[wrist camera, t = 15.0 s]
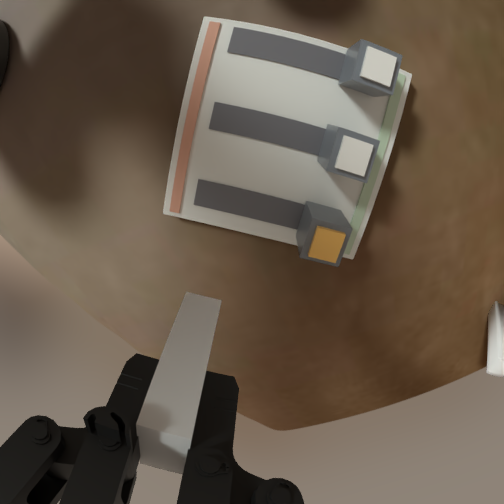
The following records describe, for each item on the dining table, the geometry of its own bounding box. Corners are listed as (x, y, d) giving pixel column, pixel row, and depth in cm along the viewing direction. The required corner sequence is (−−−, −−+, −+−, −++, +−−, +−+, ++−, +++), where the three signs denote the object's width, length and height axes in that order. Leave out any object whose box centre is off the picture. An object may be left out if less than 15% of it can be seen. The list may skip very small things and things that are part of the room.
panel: (168, 208, 33) (143, 234, 26) (207, 21, 25) (189, -2, 18) (349, 252, 34) (366, 287, 27) (405, 75, 25) (439, 69, 19)
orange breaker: (295, 234, 31) (300, 260, 26) (306, 200, 30) (313, 220, 25) (329, 243, 31) (339, 269, 26) (340, 210, 30) (354, 231, 25)
